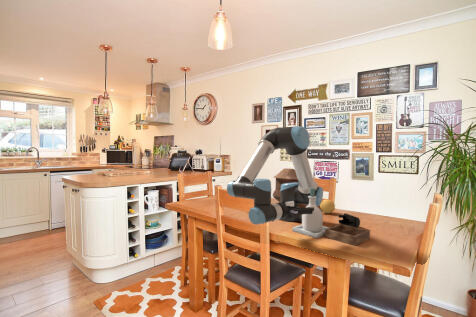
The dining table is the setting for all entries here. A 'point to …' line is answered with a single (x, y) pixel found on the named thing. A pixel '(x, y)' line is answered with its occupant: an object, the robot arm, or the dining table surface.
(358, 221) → the end cap
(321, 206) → the stress ball
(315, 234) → the tray
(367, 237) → the walnut holder
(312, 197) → the soap bottle
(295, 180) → the pottery vessel
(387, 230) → the dining table surface
